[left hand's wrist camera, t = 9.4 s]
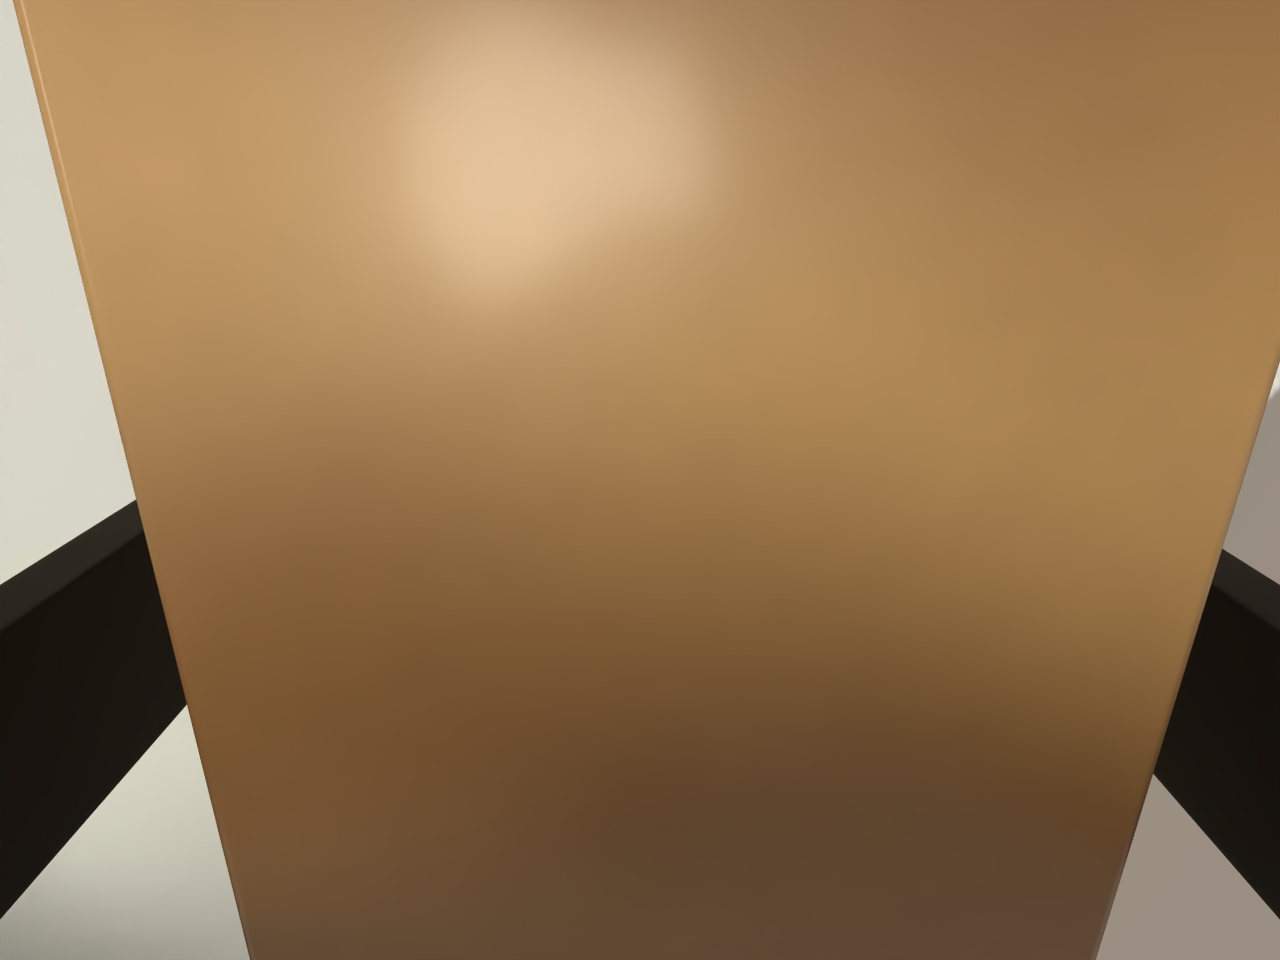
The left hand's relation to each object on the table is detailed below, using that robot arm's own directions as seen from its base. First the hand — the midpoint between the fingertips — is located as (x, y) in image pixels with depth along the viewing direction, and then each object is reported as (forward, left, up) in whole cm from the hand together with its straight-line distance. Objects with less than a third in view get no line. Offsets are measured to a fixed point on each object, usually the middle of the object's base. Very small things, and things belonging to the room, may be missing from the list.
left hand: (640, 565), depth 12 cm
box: (+7, +4, -5) cm, 9 cm away
